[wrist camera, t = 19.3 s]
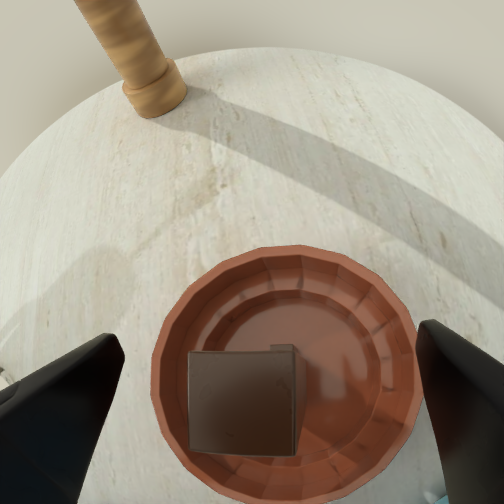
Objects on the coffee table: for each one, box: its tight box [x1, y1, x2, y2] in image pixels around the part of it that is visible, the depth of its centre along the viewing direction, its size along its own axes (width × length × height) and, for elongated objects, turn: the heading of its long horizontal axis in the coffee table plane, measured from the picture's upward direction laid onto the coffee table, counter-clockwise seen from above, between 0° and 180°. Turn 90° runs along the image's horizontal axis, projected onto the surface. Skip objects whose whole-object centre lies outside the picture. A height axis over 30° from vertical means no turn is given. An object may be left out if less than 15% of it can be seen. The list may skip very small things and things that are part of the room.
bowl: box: [150, 245, 424, 504], centre depth 16 cm, size 14×14×5 cm
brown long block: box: [187, 344, 307, 457], centre depth 12 cm, size 4×2×13 cm, turn 1°
